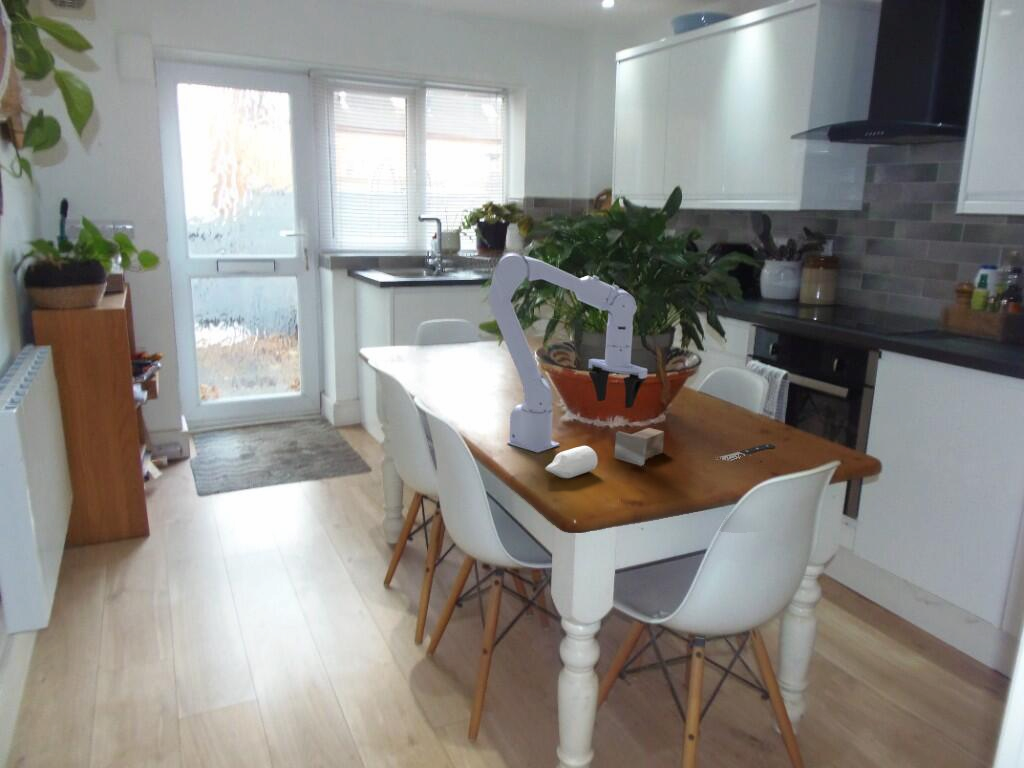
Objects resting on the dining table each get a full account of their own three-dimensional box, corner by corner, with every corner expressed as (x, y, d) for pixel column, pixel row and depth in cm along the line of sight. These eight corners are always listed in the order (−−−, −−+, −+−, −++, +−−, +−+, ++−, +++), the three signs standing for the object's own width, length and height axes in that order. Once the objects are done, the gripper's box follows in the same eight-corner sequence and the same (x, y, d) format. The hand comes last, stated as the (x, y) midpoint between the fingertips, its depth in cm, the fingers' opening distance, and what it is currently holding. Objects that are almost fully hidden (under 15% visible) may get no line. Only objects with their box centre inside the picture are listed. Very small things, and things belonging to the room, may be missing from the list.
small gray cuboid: (641, 446, 173) (643, 422, 172) (668, 454, 169) (670, 428, 167) (614, 458, 165) (616, 432, 163) (641, 466, 160) (643, 439, 159)
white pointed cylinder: (540, 486, 150) (533, 458, 151) (580, 471, 158) (574, 445, 158) (560, 484, 146) (553, 456, 146) (600, 469, 154) (594, 443, 154)
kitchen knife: (801, 456, 170) (765, 444, 178) (802, 454, 170) (765, 442, 178) (714, 481, 154) (678, 466, 162) (714, 478, 154) (678, 463, 162)
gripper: (656, 347, 164) (652, 406, 168) (602, 338, 174) (599, 394, 177) (639, 351, 159) (634, 412, 163) (584, 341, 169) (581, 399, 172)
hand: (615, 403), depth 169 cm, fingers open, 7 cm apart
